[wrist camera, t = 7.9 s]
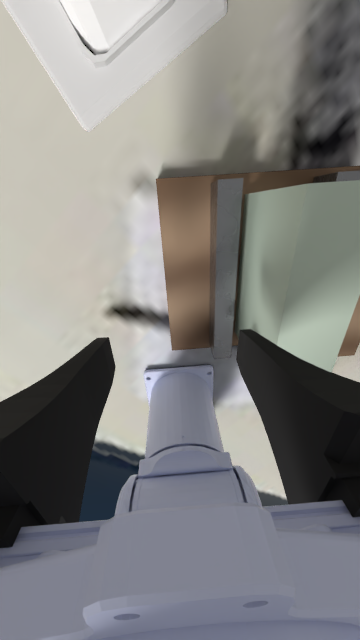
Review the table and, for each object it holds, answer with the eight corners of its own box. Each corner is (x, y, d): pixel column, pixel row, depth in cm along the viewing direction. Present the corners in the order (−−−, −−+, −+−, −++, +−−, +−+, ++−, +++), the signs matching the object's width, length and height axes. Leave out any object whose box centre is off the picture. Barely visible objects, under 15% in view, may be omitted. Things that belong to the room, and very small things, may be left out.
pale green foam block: (297, 190, 16) (402, 177, 9) (273, 328, 21) (325, 387, 14) (234, 195, 16) (288, 184, 9) (226, 332, 21) (256, 393, 14)
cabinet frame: (325, 332, 23) (354, 355, 20) (171, 344, 23) (172, 369, 19) (378, 166, 16) (436, 154, 13) (156, 180, 16) (153, 172, 12)
